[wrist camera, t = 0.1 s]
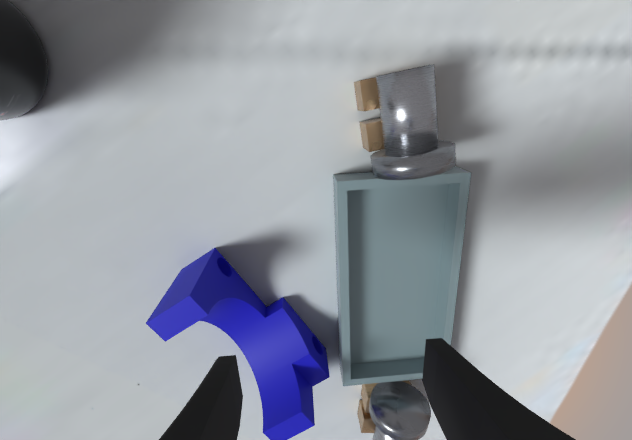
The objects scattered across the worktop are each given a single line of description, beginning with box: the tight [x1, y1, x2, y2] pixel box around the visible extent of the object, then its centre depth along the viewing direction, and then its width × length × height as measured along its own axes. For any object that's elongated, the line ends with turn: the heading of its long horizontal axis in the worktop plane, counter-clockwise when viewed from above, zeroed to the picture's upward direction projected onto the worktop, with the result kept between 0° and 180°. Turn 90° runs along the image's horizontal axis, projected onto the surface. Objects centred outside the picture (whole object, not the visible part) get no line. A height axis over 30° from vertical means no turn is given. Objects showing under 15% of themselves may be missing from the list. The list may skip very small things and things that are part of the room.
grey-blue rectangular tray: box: [333, 167, 471, 386], centre depth 23 cm, size 16×8×2 cm, turn 3°
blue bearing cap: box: [146, 248, 329, 440], centre depth 22 cm, size 12×4×6 cm, turn 33°
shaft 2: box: [358, 380, 431, 440], centre depth 25 cm, size 5×4×5 cm
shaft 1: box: [354, 65, 456, 180], centre depth 17 cm, size 5×4×5 cm
